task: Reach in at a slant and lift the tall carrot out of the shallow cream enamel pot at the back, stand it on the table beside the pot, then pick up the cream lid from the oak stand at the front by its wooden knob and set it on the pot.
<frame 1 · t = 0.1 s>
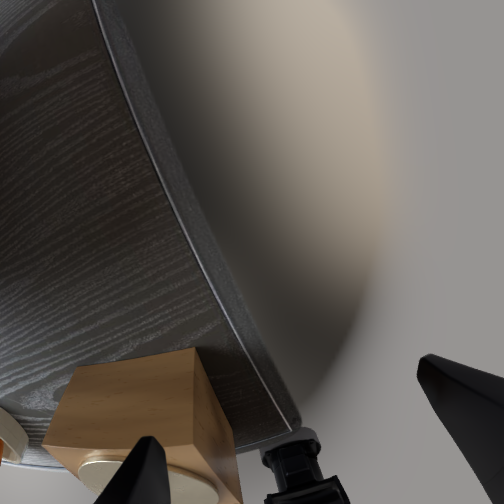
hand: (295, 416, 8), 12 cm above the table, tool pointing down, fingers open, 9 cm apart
carrot: (1, 423, 21), resting in pot
lid: (147, 489, 13), point 9 cm above the table, touching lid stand
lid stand: (156, 404, 22), on the table
pot: (2, 422, 21), on the table
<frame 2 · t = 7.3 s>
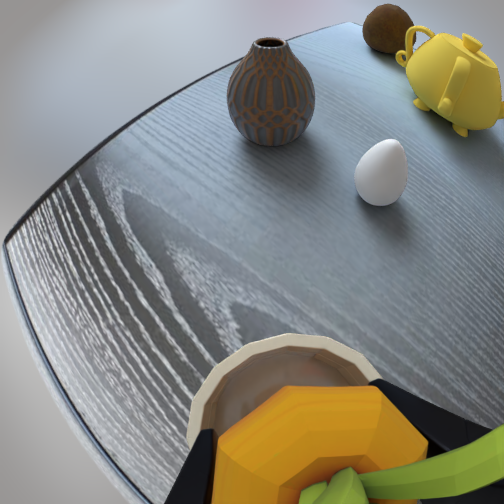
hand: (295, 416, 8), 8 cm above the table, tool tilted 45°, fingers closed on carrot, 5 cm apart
egg: (372, 194, 20), on the table
carrot: (288, 424, 14), resting in pot, touching gripper
teapot: (451, 112, 26), on the table
pot: (288, 423, 14), on the table
potato: (387, 51, 33), on the table
vase: (271, 133, 24), on the table
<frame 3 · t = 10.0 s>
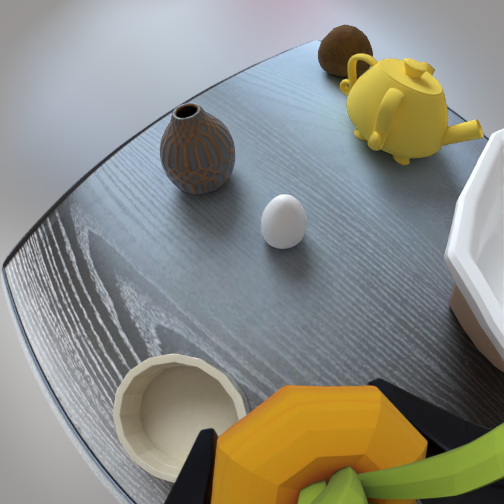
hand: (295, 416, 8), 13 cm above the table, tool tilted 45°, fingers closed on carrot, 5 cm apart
egg: (282, 236, 26), on the table
carrot: (288, 423, 14), point 6 cm above the table, touching gripper
bowl: (498, 301, 21), on the table
teapot: (398, 137, 31), on the table
pot: (190, 416, 19), on the table
potato: (345, 72, 38), on the table
vase: (204, 179, 29), on the table
when the fingers open (7 cm above the table, at t = 12.8 s): carrot stays where it is, on the table.
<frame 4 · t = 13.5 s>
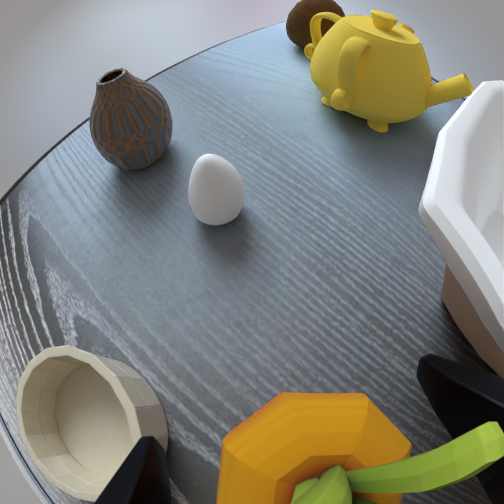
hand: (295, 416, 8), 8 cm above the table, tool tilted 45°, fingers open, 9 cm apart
egg: (220, 211, 21), on the table
carrot: (286, 425, 14), on the table
teapot: (375, 105, 26), on the table
pot: (103, 423, 14), on the table
potato: (319, 46, 34), on the table
vase: (144, 155, 24), on the table
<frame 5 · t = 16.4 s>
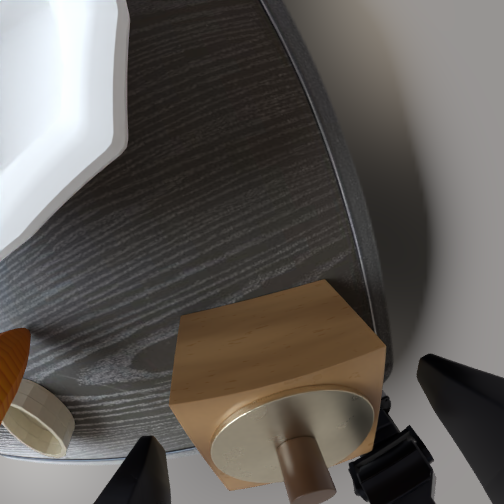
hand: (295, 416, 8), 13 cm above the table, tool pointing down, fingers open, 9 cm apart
carrot: (29, 329, 19), on the table
bowl: (15, 94, 13), on the table
lid: (294, 441, 14), point 9 cm above the table, touching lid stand
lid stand: (267, 355, 23), on the table
pot: (40, 408, 22), on the table
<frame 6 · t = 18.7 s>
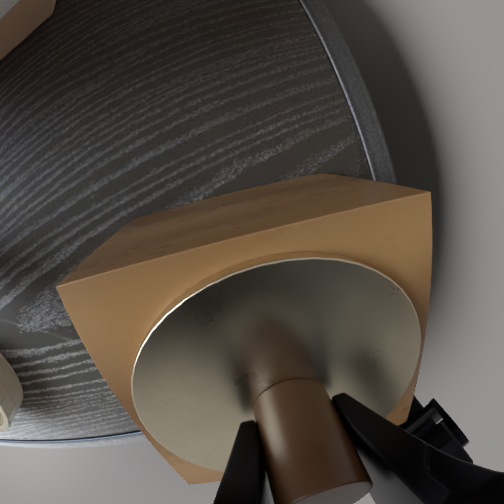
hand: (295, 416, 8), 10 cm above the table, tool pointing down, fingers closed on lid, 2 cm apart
lid: (286, 394, 9), point 9 cm above the table, touching gripper, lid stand
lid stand: (249, 284, 17), on the table
when the fingers open (5 cm above the table, at t = 24.6 s): lid stays where it is, resting on pot.
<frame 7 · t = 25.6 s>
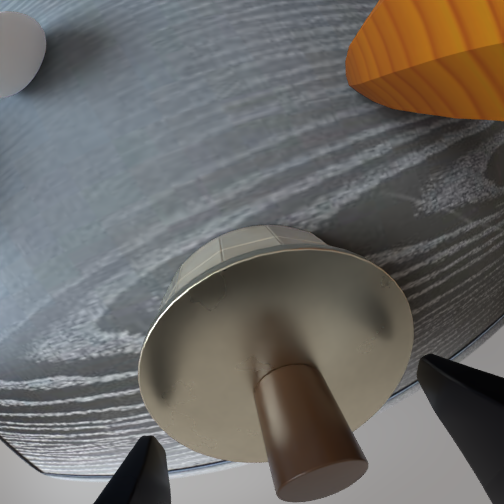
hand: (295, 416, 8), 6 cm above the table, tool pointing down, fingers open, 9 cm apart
egg: (27, 65, 8), on the table
carrot: (351, 82, 10), on the table
lid: (285, 380, 9), point 4 cm above the table, touching pot
pot: (264, 324, 13), on the table
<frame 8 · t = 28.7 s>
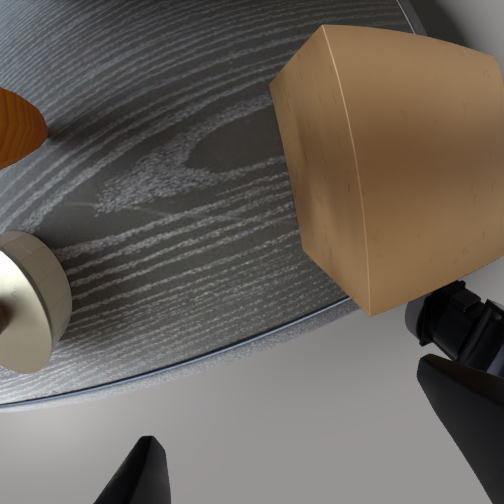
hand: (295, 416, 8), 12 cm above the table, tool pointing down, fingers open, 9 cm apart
carrot: (46, 134, 14), on the table
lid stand: (363, 155, 18), on the table
pot: (25, 288, 17), on the table
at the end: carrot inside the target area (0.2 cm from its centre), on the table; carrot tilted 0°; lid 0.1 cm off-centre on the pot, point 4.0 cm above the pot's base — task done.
